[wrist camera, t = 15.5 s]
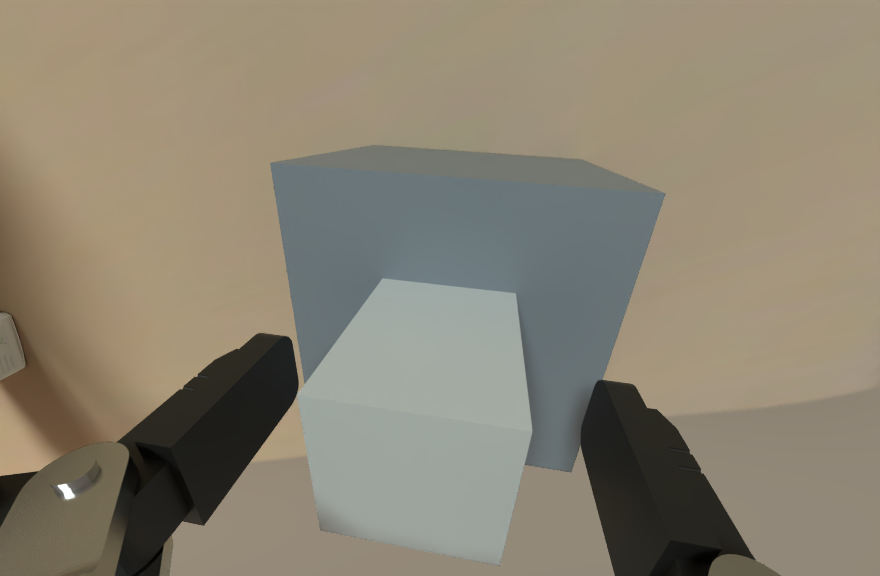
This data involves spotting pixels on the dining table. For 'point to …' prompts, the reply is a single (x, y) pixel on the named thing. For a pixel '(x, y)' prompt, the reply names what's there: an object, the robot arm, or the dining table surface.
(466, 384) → the cube with small cube
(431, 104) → the dining table surface
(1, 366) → the syrup box
